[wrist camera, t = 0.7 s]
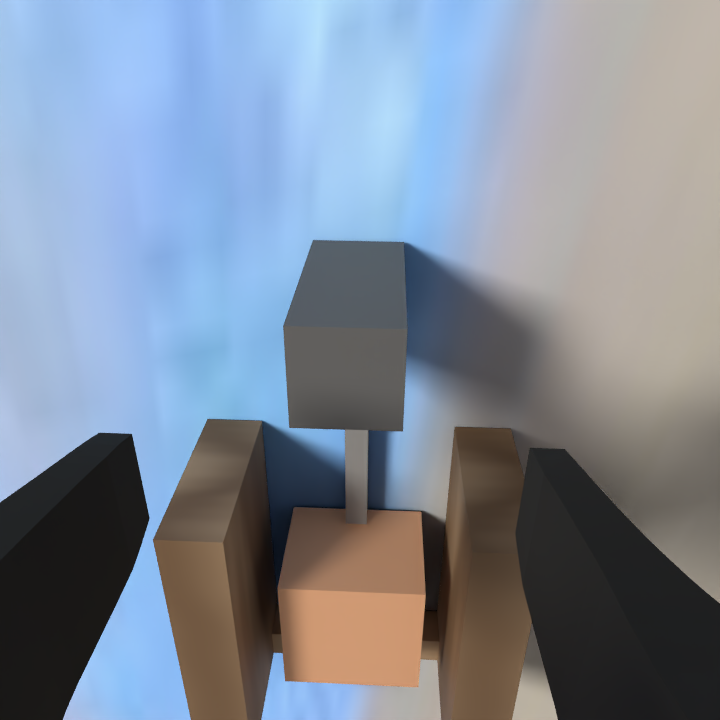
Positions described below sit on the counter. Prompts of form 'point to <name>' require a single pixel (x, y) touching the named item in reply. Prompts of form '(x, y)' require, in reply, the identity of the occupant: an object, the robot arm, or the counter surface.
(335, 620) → the grey and tan dumbbell
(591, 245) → the counter surface
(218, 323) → the counter surface
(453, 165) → the counter surface
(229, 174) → the counter surface
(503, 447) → the brown wooden u-shaped piece
